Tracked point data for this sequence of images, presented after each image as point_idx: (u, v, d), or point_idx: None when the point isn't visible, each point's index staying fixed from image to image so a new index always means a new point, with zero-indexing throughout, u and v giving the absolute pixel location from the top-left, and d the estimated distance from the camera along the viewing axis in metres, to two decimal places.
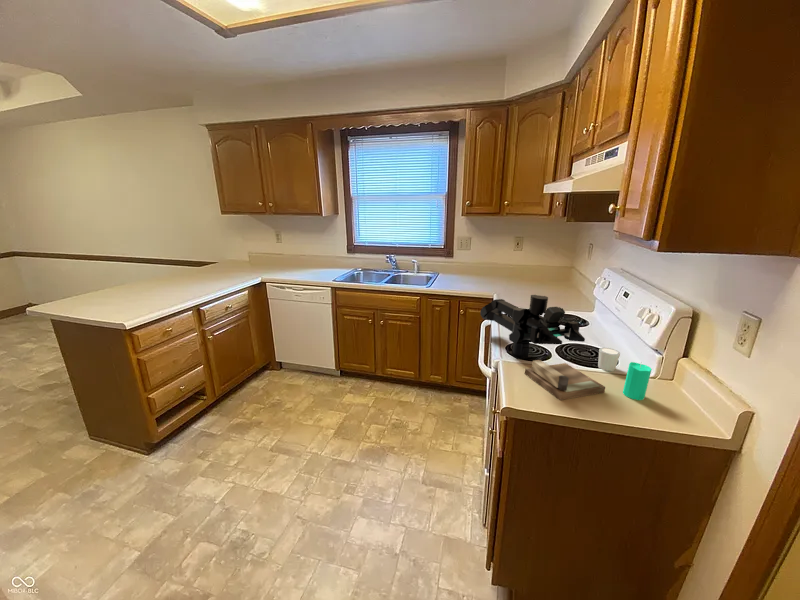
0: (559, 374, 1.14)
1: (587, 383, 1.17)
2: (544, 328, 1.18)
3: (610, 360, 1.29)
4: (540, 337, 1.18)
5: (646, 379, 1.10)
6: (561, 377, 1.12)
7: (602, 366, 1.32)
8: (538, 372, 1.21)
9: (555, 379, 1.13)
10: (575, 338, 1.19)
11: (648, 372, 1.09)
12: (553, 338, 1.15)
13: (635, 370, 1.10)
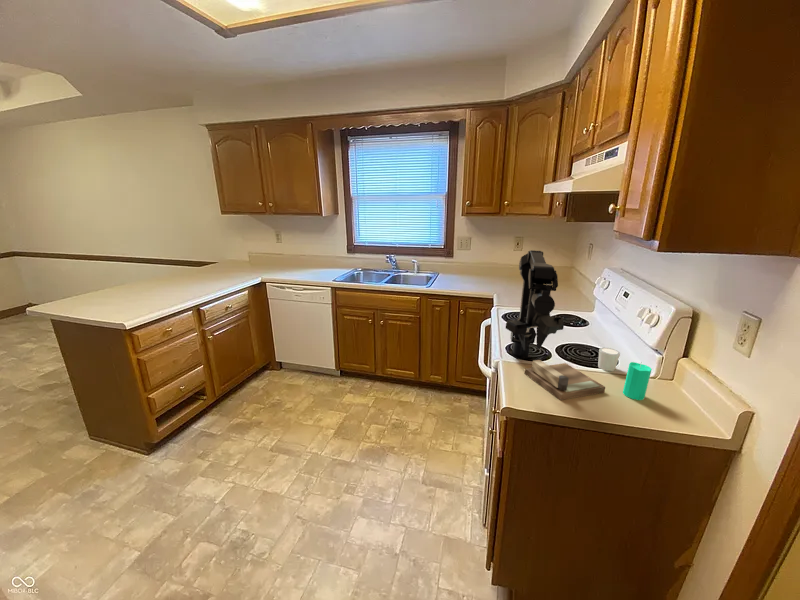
0: (559, 374, 1.14)
1: (587, 383, 1.17)
2: (527, 335, 1.11)
3: (610, 360, 1.29)
4: None
5: (646, 379, 1.10)
6: (561, 377, 1.12)
7: (602, 366, 1.32)
8: (538, 372, 1.21)
9: (555, 379, 1.13)
10: (538, 336, 1.17)
11: (648, 372, 1.09)
12: (524, 343, 1.14)
13: (635, 370, 1.10)
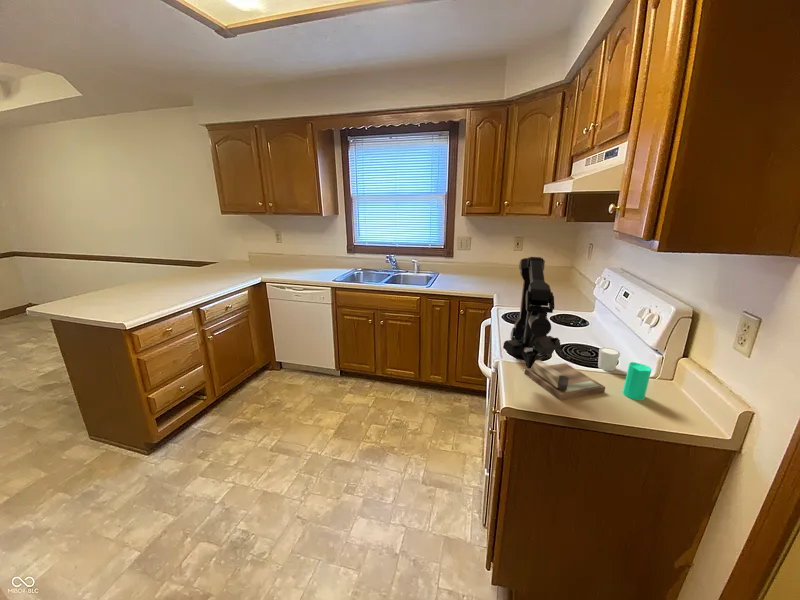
0: (559, 374, 1.14)
1: (587, 383, 1.17)
2: (531, 354, 1.13)
3: (610, 360, 1.29)
4: None
5: (646, 379, 1.10)
6: (561, 377, 1.12)
7: (602, 366, 1.32)
8: (538, 372, 1.21)
9: (555, 379, 1.13)
10: None
11: (648, 372, 1.09)
12: (527, 361, 1.17)
13: (635, 370, 1.10)
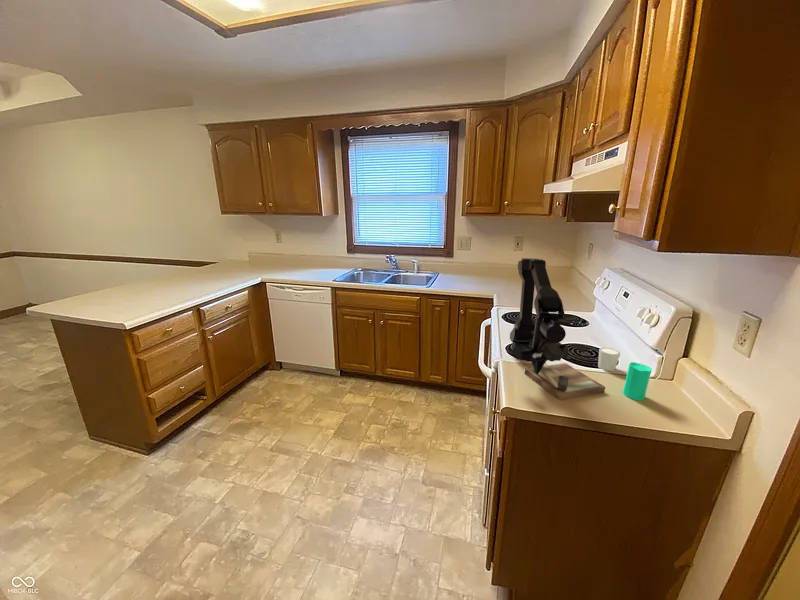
0: (559, 374, 1.14)
1: (587, 383, 1.17)
2: (539, 360, 1.15)
3: (610, 360, 1.29)
4: None
5: (646, 379, 1.10)
6: (561, 377, 1.12)
7: (602, 366, 1.32)
8: None
9: (555, 379, 1.13)
10: None
11: (648, 372, 1.09)
12: (536, 367, 1.19)
13: (635, 370, 1.10)
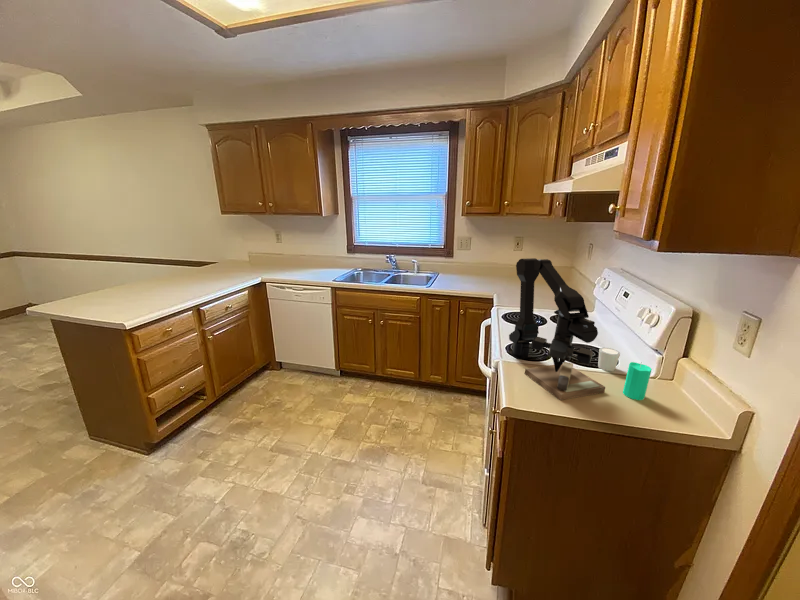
0: (566, 375, 1.14)
1: (587, 383, 1.17)
2: (552, 355, 1.18)
3: (610, 360, 1.29)
4: None
5: (646, 379, 1.10)
6: (561, 376, 1.12)
7: (602, 366, 1.32)
8: None
9: None
10: None
11: (648, 372, 1.09)
12: None
13: (635, 370, 1.10)
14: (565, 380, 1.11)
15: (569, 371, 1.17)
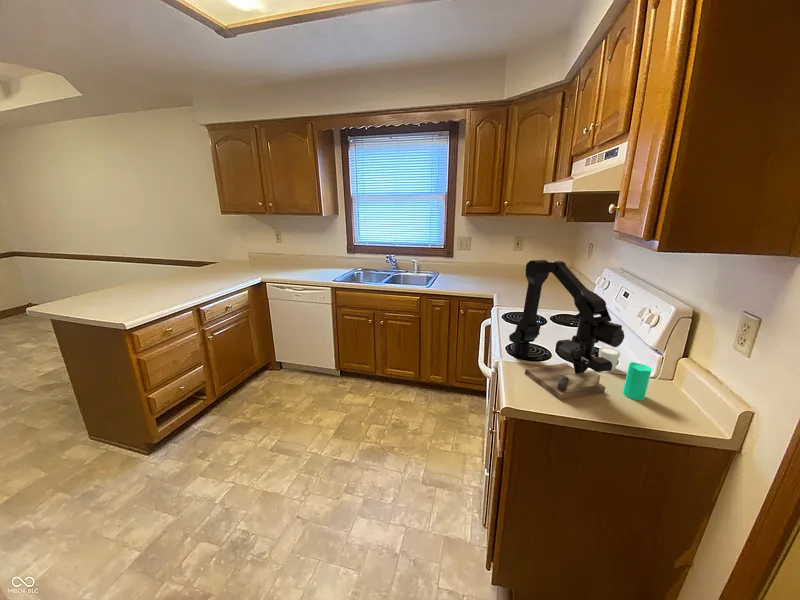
0: (571, 378, 1.12)
1: None
2: None
3: (610, 360, 1.29)
4: None
5: (646, 379, 1.10)
6: (563, 376, 1.12)
7: None
8: None
9: None
10: None
11: (648, 372, 1.09)
12: None
13: (635, 370, 1.10)
14: (562, 379, 1.11)
15: (582, 377, 1.13)
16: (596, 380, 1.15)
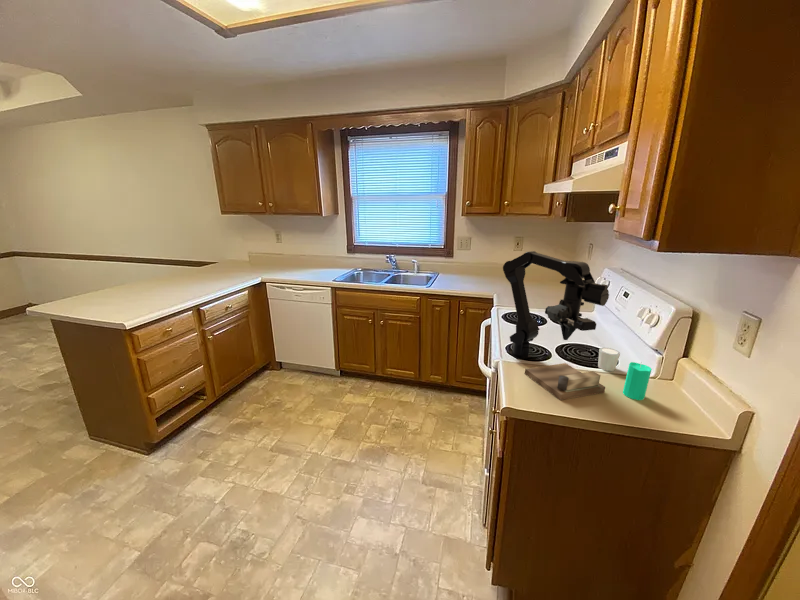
0: (571, 378, 1.12)
1: None
2: (557, 321, 1.25)
3: (610, 360, 1.29)
4: None
5: (646, 379, 1.10)
6: (563, 376, 1.12)
7: (602, 366, 1.32)
8: None
9: None
10: None
11: (648, 372, 1.09)
12: None
13: (635, 370, 1.10)
14: (562, 379, 1.11)
15: (582, 377, 1.13)
16: (596, 380, 1.15)
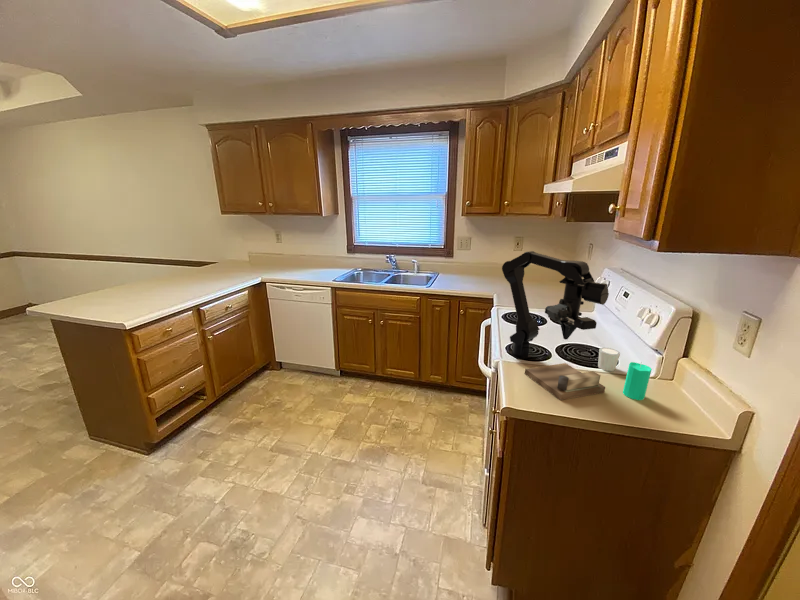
0: (571, 378, 1.12)
1: None
2: (557, 320, 1.25)
3: (610, 360, 1.29)
4: None
5: (646, 379, 1.10)
6: (563, 376, 1.12)
7: (602, 366, 1.32)
8: None
9: None
10: None
11: (648, 372, 1.09)
12: None
13: (635, 370, 1.10)
14: (562, 379, 1.11)
15: (582, 377, 1.13)
16: (596, 380, 1.15)
